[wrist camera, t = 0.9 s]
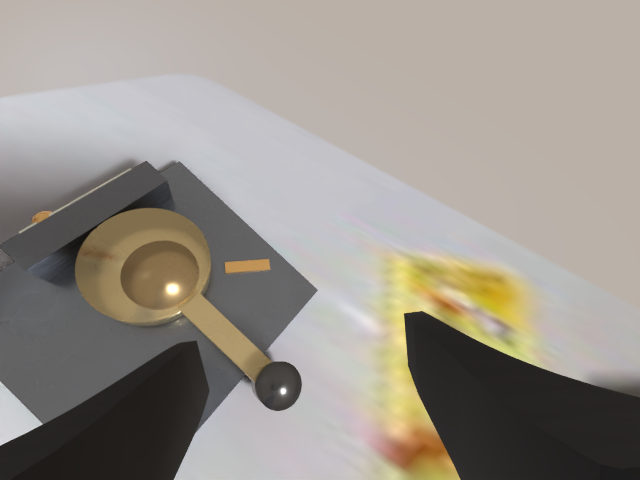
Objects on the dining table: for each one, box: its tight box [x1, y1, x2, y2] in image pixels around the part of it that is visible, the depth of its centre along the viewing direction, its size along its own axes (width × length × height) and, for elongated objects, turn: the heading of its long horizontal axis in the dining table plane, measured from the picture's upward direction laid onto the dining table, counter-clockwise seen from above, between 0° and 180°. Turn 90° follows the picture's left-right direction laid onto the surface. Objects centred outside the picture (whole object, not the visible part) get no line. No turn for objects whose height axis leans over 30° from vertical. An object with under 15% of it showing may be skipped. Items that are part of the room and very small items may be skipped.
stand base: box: [0, 161, 318, 433], centre depth 19 cm, size 16×16×3 cm
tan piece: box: [75, 208, 302, 411], centre depth 18 cm, size 15×7×4 cm, turn 50°
